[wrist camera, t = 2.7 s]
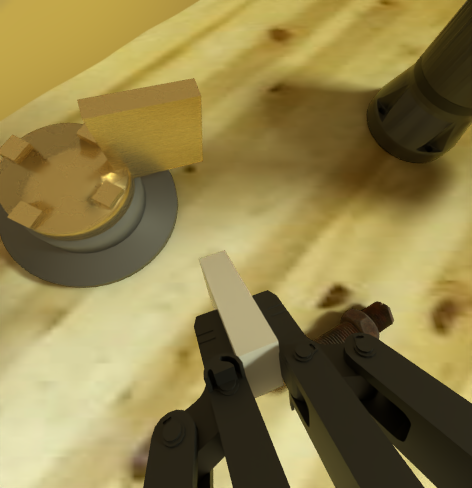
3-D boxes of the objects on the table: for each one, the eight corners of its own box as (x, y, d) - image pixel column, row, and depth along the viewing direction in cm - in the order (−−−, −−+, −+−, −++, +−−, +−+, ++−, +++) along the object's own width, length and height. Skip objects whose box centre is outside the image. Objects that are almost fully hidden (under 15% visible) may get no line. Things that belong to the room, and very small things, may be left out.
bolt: (370, 317, 38) (283, 373, 34) (364, 287, 36) (272, 343, 32) (409, 338, 32) (311, 407, 29) (403, 304, 31) (299, 372, 27)
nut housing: (109, 112, 40) (96, 84, 35) (210, 209, 37) (210, 193, 33) (-30, 202, 34) (-69, 183, 29) (78, 325, 32) (55, 326, 27)
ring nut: (25, 256, 28) (-79, 219, 18) (8, 154, 31) (-90, 73, 21) (216, 202, 32) (221, 147, 22) (185, 116, 35) (176, 33, 25)
